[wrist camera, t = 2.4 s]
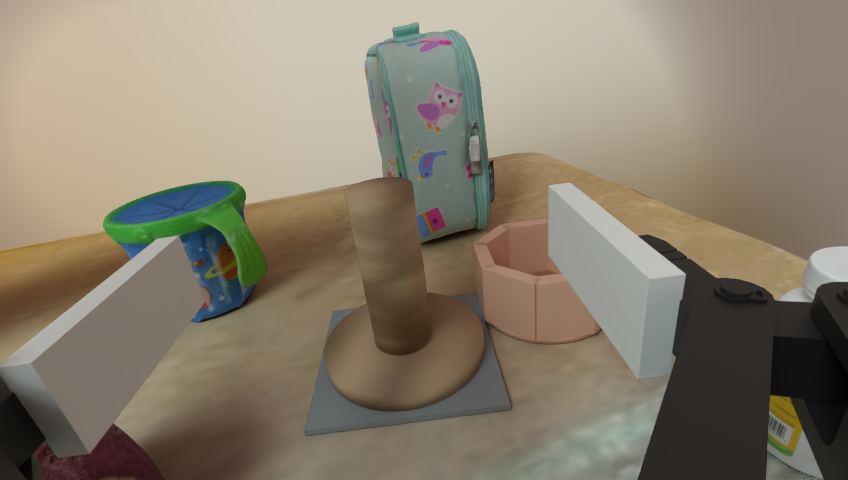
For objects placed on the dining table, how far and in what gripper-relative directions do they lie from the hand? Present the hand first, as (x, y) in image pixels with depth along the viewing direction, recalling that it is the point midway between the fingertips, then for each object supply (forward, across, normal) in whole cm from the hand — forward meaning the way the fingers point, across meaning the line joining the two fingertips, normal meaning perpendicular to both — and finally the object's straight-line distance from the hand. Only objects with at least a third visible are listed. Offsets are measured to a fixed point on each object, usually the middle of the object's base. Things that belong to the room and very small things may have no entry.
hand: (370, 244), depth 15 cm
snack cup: (+21, -18, -13) cm, 31 cm away
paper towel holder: (+10, 0, -13) cm, 17 cm away
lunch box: (+37, +3, -13) cm, 39 cm away
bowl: (+14, +11, -13) cm, 22 cm away
